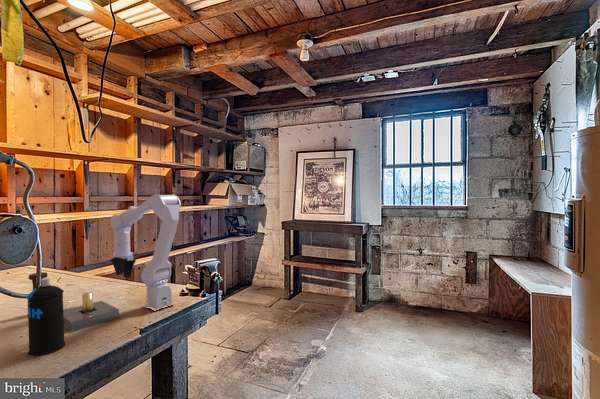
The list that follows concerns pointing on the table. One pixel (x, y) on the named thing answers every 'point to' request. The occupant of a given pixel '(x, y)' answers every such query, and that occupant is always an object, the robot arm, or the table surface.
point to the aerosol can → (45, 319)
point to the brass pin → (87, 302)
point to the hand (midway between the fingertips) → (123, 276)
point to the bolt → (34, 276)
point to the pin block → (89, 316)
